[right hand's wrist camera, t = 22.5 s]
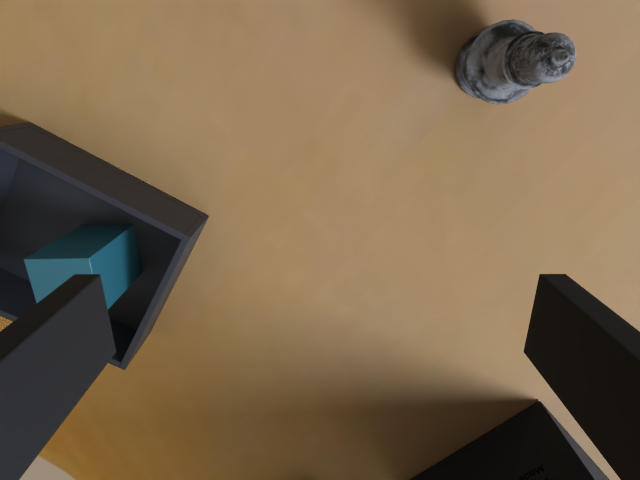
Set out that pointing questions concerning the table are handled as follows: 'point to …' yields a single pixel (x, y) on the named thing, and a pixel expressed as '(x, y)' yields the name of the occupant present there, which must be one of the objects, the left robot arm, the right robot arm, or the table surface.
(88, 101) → the table surface
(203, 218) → the tray
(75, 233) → the block
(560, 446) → the cardboard box
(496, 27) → the stone chess piece
